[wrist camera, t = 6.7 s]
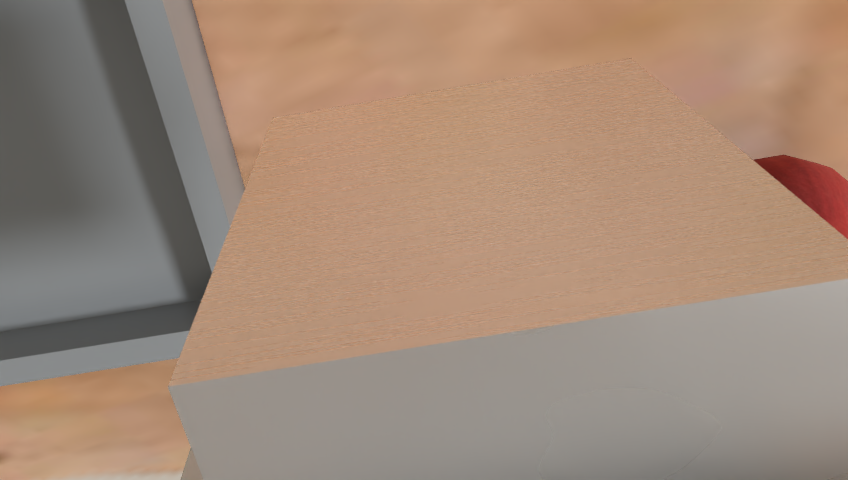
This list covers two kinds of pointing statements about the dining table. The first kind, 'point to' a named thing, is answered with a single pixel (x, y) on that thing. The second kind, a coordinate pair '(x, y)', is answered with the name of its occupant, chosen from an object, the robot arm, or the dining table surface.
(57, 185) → the tray
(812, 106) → the dining table surface
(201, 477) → the robot arm
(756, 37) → the dining table surface
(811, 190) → the onion
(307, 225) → the block
